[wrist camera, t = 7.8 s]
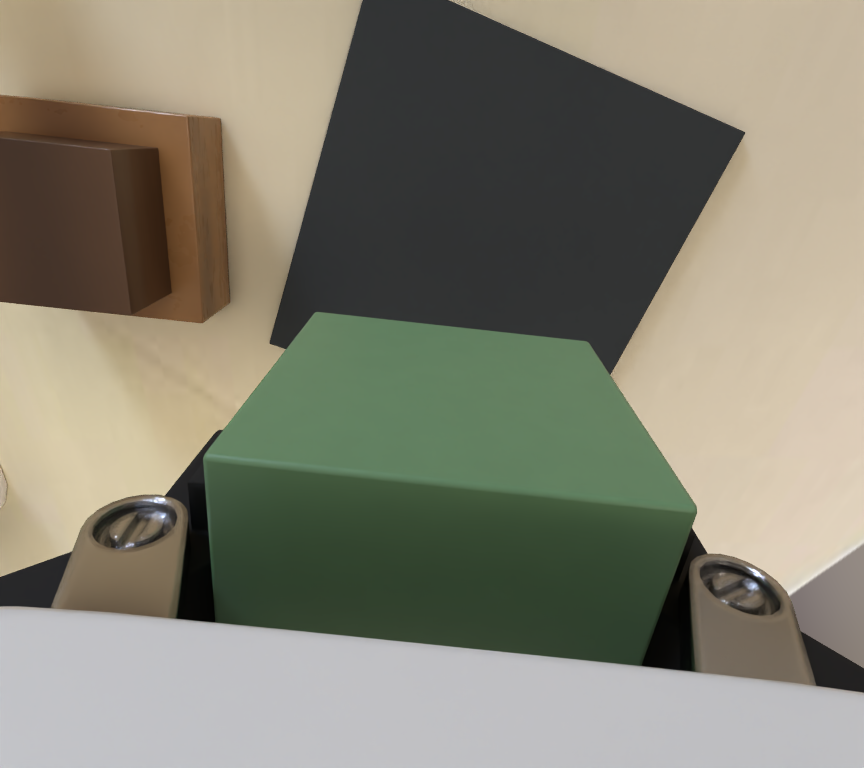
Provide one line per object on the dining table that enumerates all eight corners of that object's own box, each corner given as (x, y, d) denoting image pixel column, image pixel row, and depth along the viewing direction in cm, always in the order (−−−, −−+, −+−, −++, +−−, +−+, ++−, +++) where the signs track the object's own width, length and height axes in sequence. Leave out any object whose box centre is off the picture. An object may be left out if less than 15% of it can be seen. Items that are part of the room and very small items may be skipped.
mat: (742, 132, 29) (746, 132, 28) (567, 446, 36) (568, 449, 36) (373, -32, 26) (372, -35, 26) (271, 341, 34) (269, 343, 34)
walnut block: (158, 147, 26) (110, 149, 22) (172, 293, 29) (131, 316, 25) (8, 131, 26) (-64, 130, 22) (37, 279, 29) (-23, 299, 25)
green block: (589, 340, 11) (702, 509, 6) (539, 555, 13) (591, 808, 8) (314, 309, 11) (199, 455, 6) (310, 531, 13) (224, 771, 8)
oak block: (221, 118, 29) (187, 115, 25) (230, 303, 33) (202, 323, 30) (29, 97, 29) (-32, 91, 25) (62, 285, 33) (14, 303, 29)
